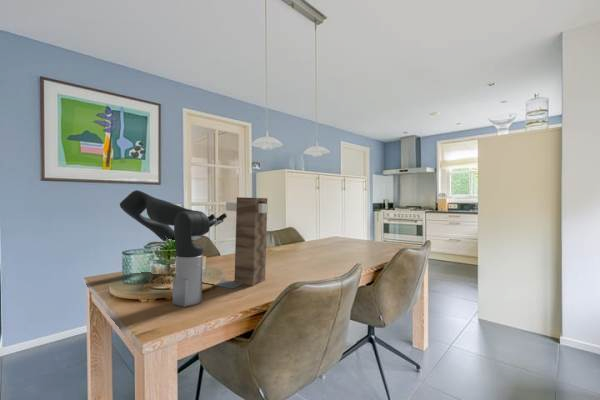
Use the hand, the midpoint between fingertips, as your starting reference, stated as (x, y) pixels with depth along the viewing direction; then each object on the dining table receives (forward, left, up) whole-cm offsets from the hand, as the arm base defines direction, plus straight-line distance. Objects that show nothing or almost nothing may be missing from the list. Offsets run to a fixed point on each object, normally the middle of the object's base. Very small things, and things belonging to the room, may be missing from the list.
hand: (220, 215), depth 136 cm
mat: (-9, -5, -29) cm, 31 cm away
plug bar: (+1, -15, +3) cm, 15 cm away
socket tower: (0, -18, -29) cm, 35 cm away
